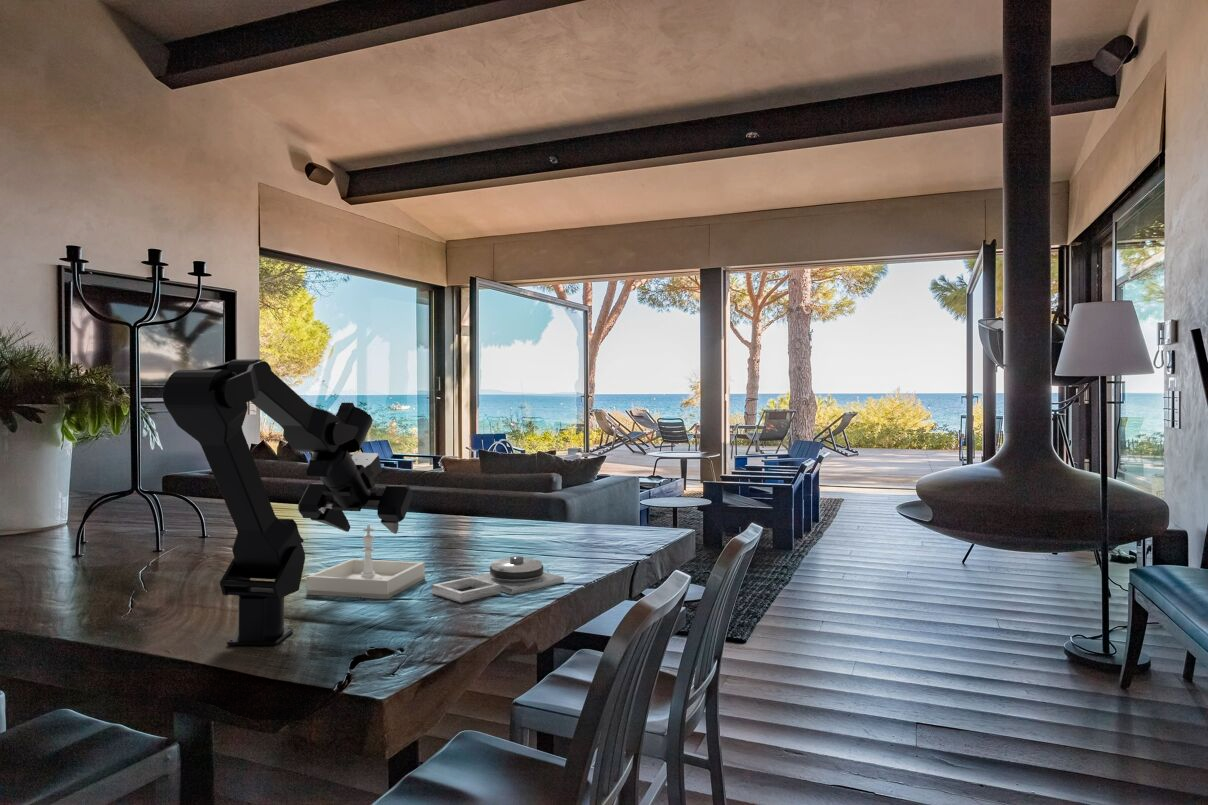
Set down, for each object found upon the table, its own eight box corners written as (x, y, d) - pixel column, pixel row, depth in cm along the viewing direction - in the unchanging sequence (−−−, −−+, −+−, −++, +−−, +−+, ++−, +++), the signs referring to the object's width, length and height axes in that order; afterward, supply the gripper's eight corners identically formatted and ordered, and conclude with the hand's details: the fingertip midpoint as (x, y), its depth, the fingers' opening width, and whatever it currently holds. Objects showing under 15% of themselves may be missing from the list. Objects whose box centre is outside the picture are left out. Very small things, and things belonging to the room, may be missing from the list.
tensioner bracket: (467, 605, 118) (467, 576, 118) (425, 591, 126) (425, 565, 126) (563, 582, 133) (563, 557, 133) (520, 571, 142) (520, 548, 142)
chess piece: (383, 584, 128) (383, 526, 128) (353, 586, 126) (353, 527, 126) (382, 577, 133) (382, 522, 133) (353, 579, 131) (353, 523, 131)
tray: (387, 599, 121) (387, 581, 121) (306, 594, 124) (306, 576, 124) (424, 578, 135) (424, 562, 136) (351, 574, 138) (351, 558, 138)
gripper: (408, 438, 124) (435, 496, 135) (308, 436, 128) (341, 493, 138) (386, 490, 116) (416, 547, 127) (279, 487, 120) (317, 543, 131)
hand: (372, 530), depth 131 cm, fingers open, 9 cm apart
